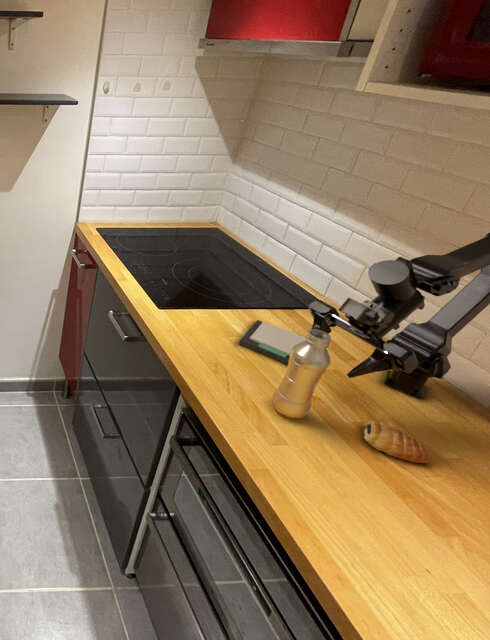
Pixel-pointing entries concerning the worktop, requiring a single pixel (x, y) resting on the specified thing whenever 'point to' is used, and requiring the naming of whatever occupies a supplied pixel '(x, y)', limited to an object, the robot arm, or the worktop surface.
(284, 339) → the scale
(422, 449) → the pastry
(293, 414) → the plastic bottle
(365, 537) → the worktop surface
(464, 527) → the worktop surface
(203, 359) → the worktop surface
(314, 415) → the worktop surface
